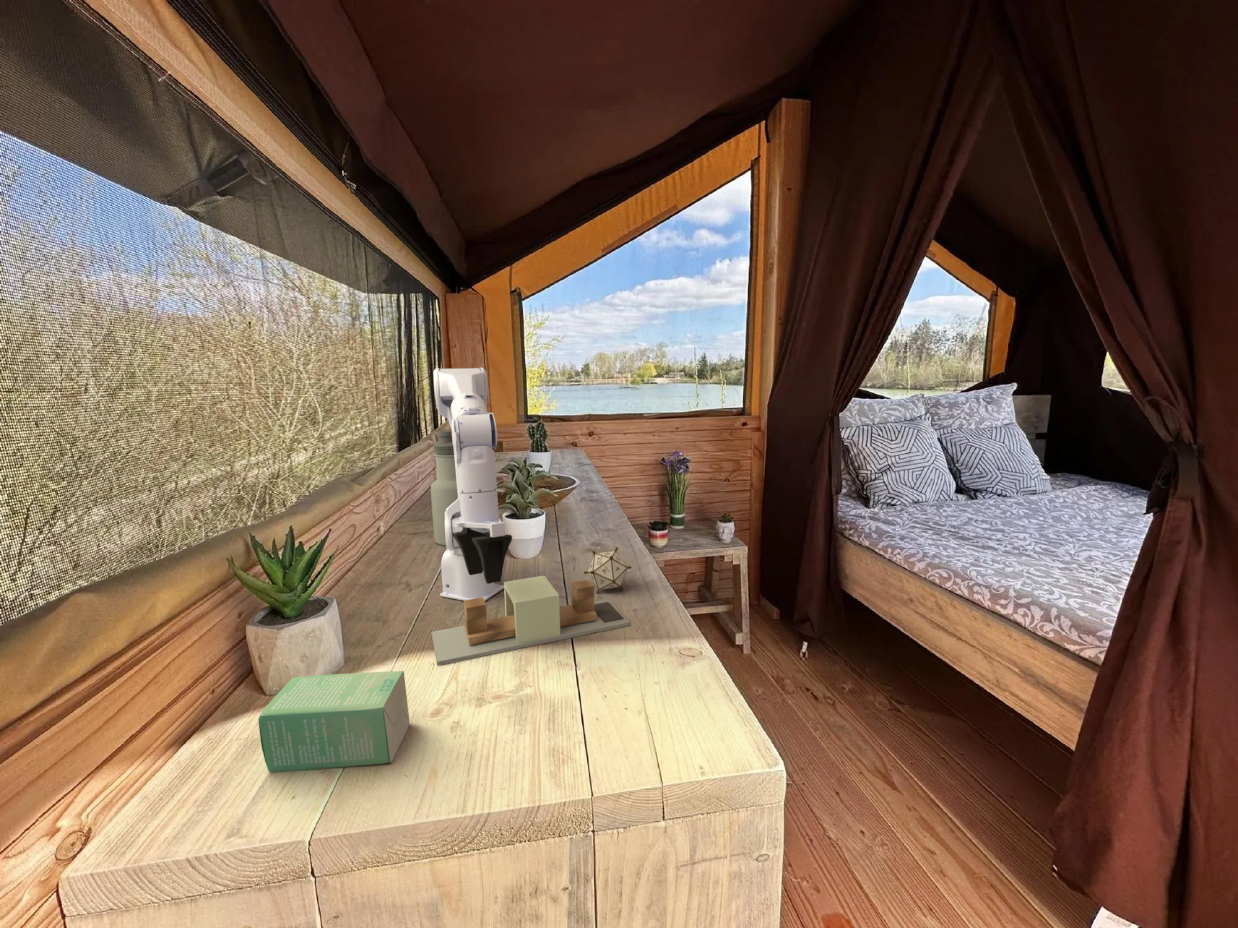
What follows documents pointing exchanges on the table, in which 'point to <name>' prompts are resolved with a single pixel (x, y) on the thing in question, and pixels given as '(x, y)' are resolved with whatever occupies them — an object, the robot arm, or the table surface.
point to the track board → (508, 639)
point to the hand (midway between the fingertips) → (484, 577)
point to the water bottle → (443, 483)
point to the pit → (607, 612)
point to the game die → (607, 570)
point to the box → (335, 721)
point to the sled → (504, 627)
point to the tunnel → (533, 608)
